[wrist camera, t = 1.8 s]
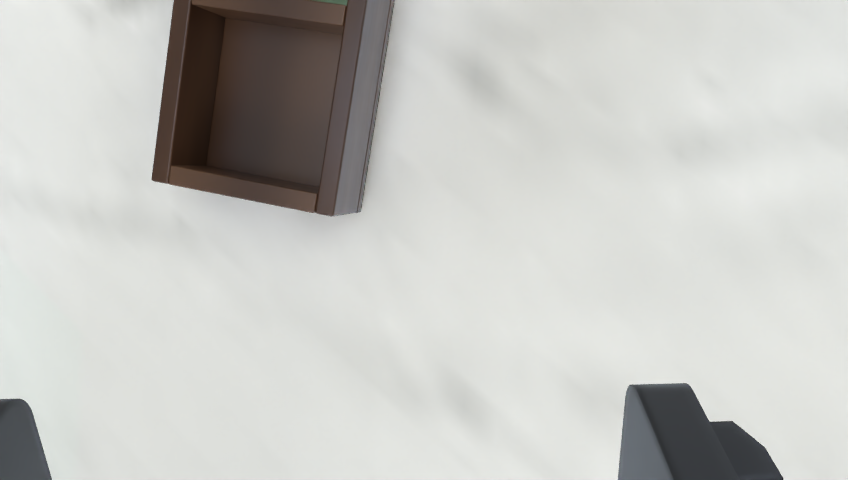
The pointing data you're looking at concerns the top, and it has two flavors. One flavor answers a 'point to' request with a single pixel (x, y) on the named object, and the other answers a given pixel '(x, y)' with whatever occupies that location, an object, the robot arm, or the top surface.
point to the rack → (273, 100)
